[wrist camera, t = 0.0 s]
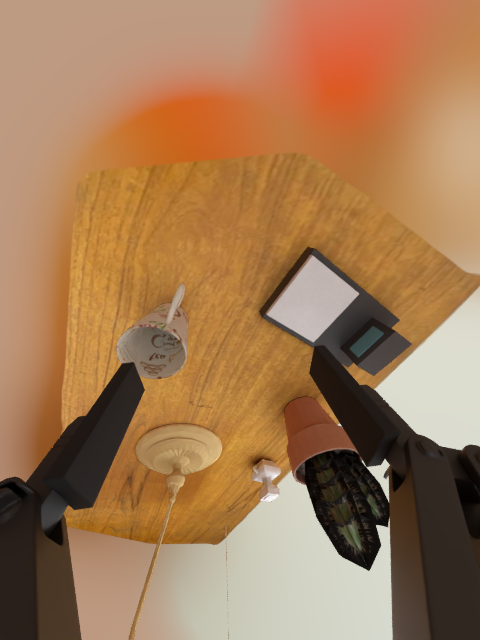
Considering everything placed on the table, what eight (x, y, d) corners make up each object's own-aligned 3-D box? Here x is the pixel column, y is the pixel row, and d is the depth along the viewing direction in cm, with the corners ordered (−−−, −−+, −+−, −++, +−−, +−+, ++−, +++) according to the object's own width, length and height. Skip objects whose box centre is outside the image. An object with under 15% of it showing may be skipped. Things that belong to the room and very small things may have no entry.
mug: (140, 330, 32) (110, 370, 23) (158, 263, 28) (129, 281, 19) (186, 344, 35) (176, 385, 26) (210, 284, 30) (207, 309, 21)
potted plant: (288, 431, 51) (342, 589, 29) (265, 406, 45) (309, 580, 23) (334, 410, 49) (429, 563, 27) (315, 380, 43) (418, 546, 21)
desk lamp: (251, 436, 50) (330, 935, 15) (213, 477, 58) (206, 865, 23) (134, 407, 41) (-420, 1620, 5) (108, 461, 49) (-182, 1087, 13)
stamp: (281, 459, 58) (290, 494, 50) (268, 470, 60) (275, 505, 53) (258, 454, 55) (264, 490, 47) (245, 465, 57) (250, 501, 50)
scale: (259, 311, 33) (269, 332, 26) (307, 246, 29) (334, 253, 22) (341, 360, 41) (364, 386, 34) (389, 314, 36) (427, 334, 30)
